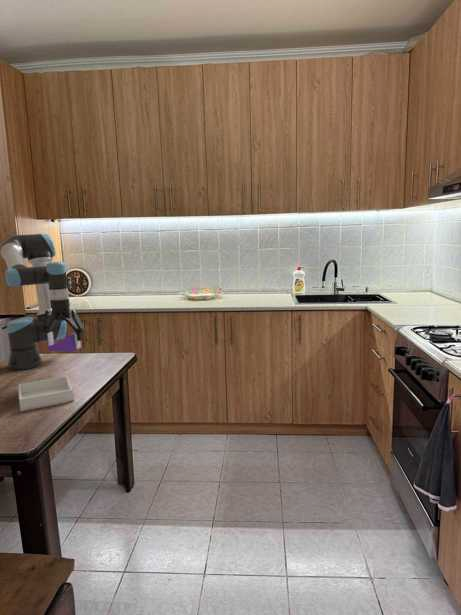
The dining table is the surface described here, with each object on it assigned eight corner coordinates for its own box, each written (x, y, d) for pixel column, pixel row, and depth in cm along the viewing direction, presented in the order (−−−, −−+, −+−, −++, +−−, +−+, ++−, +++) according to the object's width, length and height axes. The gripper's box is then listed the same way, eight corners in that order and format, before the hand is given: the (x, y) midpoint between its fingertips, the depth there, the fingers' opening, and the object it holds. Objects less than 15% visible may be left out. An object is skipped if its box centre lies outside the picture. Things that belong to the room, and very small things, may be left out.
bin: (19, 394, 178) (18, 384, 178) (68, 386, 186) (67, 375, 185) (20, 411, 162) (19, 399, 161) (74, 401, 170) (72, 389, 169)
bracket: (81, 347, 192) (79, 332, 191) (70, 352, 186) (68, 336, 185) (59, 346, 197) (57, 331, 195) (48, 350, 190) (46, 334, 189)
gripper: (28, 300, 187) (34, 349, 191) (80, 300, 181) (85, 350, 185) (40, 297, 194) (45, 344, 198) (90, 297, 188) (95, 345, 192)
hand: (64, 347), depth 191 cm, fingers closed on bracket, 12 cm apart
